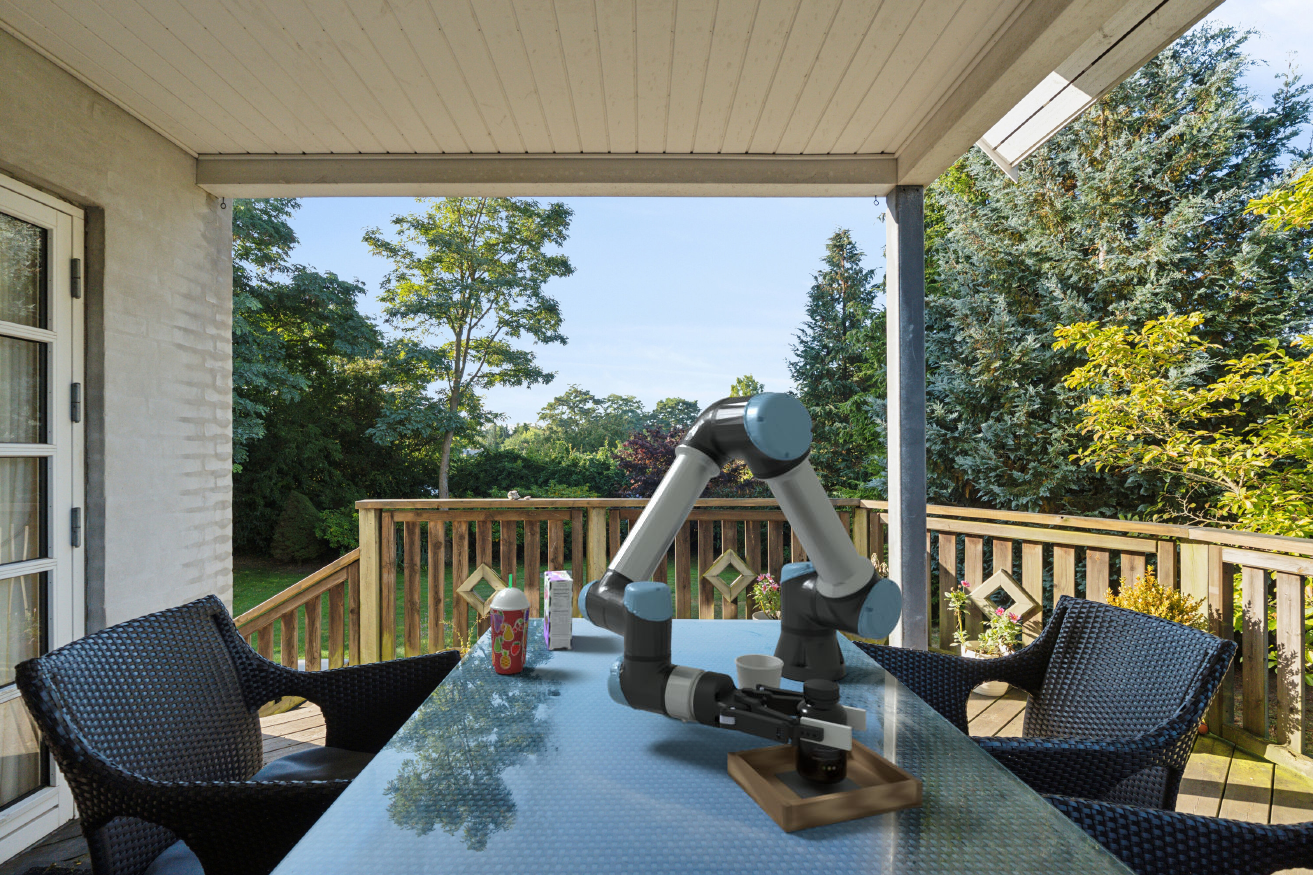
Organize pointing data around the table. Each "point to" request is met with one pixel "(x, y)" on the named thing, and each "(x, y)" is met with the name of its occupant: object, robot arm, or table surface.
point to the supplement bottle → (813, 757)
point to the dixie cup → (758, 670)
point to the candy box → (558, 610)
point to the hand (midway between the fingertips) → (858, 729)
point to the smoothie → (509, 629)
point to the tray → (822, 787)
